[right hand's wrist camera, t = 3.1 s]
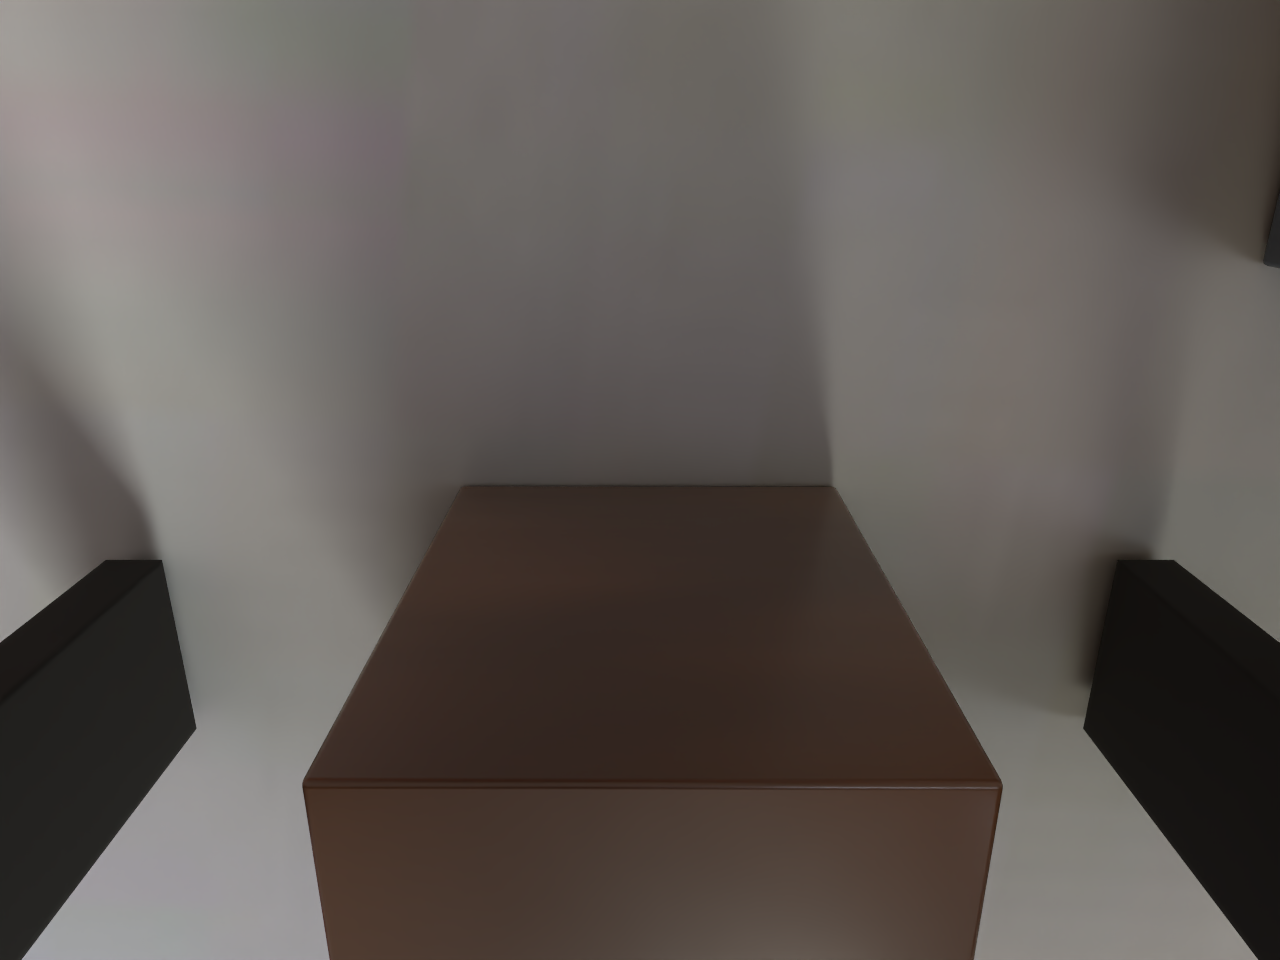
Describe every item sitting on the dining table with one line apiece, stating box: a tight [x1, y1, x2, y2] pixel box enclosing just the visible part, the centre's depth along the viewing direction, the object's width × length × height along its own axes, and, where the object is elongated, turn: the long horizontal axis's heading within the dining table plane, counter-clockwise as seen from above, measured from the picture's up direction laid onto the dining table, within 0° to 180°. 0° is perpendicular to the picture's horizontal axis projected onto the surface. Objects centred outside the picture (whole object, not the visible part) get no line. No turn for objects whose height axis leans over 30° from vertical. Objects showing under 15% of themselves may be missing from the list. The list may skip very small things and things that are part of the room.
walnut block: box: [302, 486, 1003, 960], centre depth 10 cm, size 5×5×6 cm
